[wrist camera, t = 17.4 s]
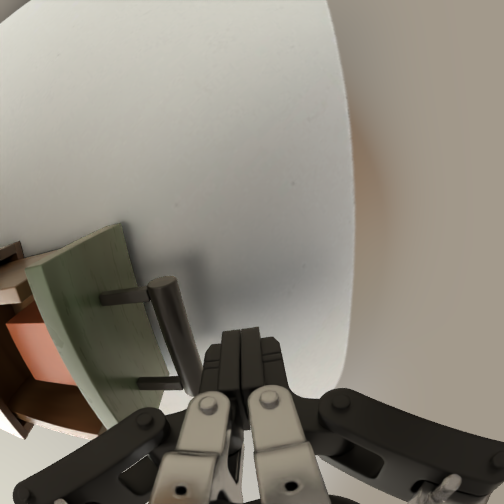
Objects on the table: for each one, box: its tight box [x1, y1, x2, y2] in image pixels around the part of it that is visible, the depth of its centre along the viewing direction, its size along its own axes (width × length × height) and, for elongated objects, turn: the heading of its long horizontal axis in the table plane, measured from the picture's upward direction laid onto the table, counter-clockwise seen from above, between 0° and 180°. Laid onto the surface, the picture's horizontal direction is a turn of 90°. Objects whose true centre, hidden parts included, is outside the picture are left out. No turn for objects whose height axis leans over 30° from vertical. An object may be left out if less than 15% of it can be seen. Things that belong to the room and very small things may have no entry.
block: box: [6, 300, 77, 386], centre depth 14 cm, size 4×4×4 cm
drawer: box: [0, 223, 203, 440], centre depth 13 cm, size 18×11×8 cm, turn 99°
